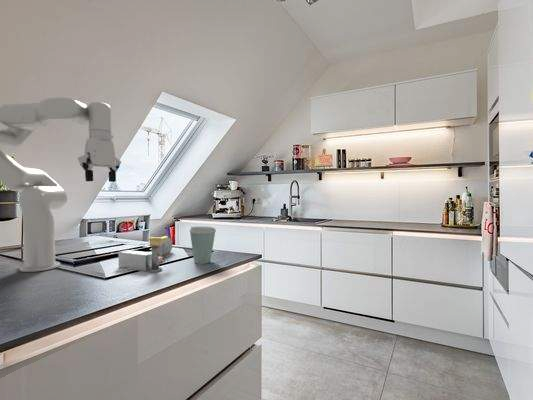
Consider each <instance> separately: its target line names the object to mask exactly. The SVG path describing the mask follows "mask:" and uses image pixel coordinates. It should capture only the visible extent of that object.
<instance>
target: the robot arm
mask: <svg viewBox="0 0 533 400" xmlns="http://www.w3.org/2000/svg"><path fill="white" fill-rule="evenodd" d="M51 120H69V121H72V122H74V123H77V124H80V125H88V138H86V141H85V146H84V154H83V155H81V156H78V157H77V160H78V162H79V164H80V166H81V168H82V169H83V171H84V172H85V173H84V174H85V175H84V176H85V177H84V178H85V182H93V181H94V171H93V170H92V169H93V168H94V167H103V168H105V167H107V168H108V170H109V171H108V182H111V183H114V182H115V183H116V182H117V172H118V171H119V170H118V169H120V165H122V161H121V160H120V159H118V158H117V157H116V152H115V145H114V143H113V140H112V139H113V138H114V136H113V135H112V110H111V106H110V105H109V104H107V103H105V102H101V101H100V102H99V101H93V102H92V101H91V102H89V104H88V105H87V104H85V103H82V102H80V101H78V100H76V99H73V98H71V97H49V98H44V99H42V100H40V101H38V102H27V103H25V102H23V103H7V104H2V105H0V123H1V124H2V125H4V126H6V127H7V128H1V127H0V183H1V184H2V185H4V186H5V187H6V188H7V189H8V190H10V191H13V192H20V194H19V196H18V203H19V207H20V210H21V214H22V225H23V226H22V227H23V254H24V255H23V258H22V260H21V261H23V262H24V264H23V265H20V266H19V268H18V269H19V271H20V272H23V273H35V272H42V271H43V272H44V271H49V270H52V269H56V268H58V267H60V266H61V262H60V261H57V260H56V244H55V243H56V237H55V235H56V234H55V219H54V216H53V213H52V212H51V211H52V210H57V209H61V208H63V207H64V206H65V205H66V204H67V202H68V195H67V192H66V191H65V189H63V187H62V186H61V185H59V184H58V183H57V181H55V180H54V179H53V178H51V177H50V176H49V175H48V173H46V172H45V171H44V170H41V169H38V168H35V167H26V166H24V165H20V164H19V163H18V162H17V161H16V160H14V159H13V158H12V157H11V156H10V155H8V154H7V153H5V152H6V151H7V152H11V151H15V150H17V149H19V147H21V146H22V145H23V144H24V143H25V142H26V141H27V140H28V139H29V138H30V137H31V136H32V135H33V134H34V132H35V131H36V130H37V129H38V127H45V126H48V125H49V124H50V123H51Z"/></svg>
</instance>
